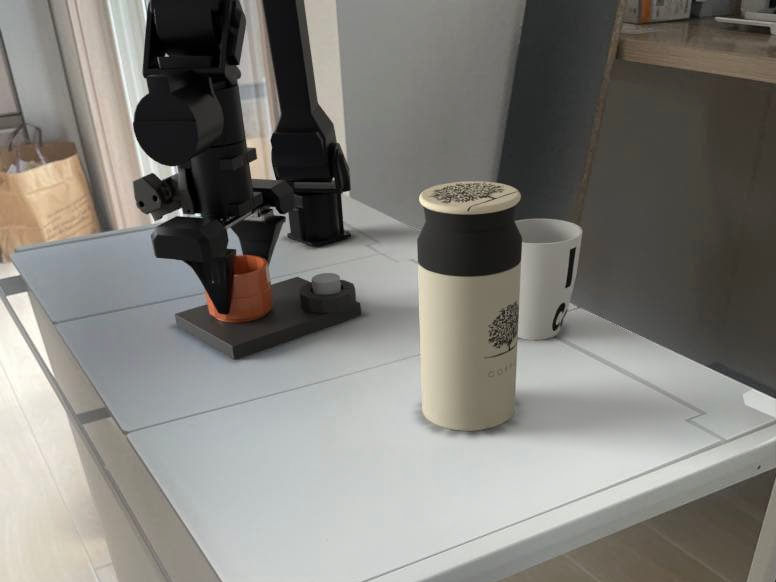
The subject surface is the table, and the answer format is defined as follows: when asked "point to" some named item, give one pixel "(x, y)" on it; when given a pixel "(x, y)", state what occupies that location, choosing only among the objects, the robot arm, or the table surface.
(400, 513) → the table surface
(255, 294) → the bowl
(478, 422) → the travel mug
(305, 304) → the scale
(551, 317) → the cup
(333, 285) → the button
